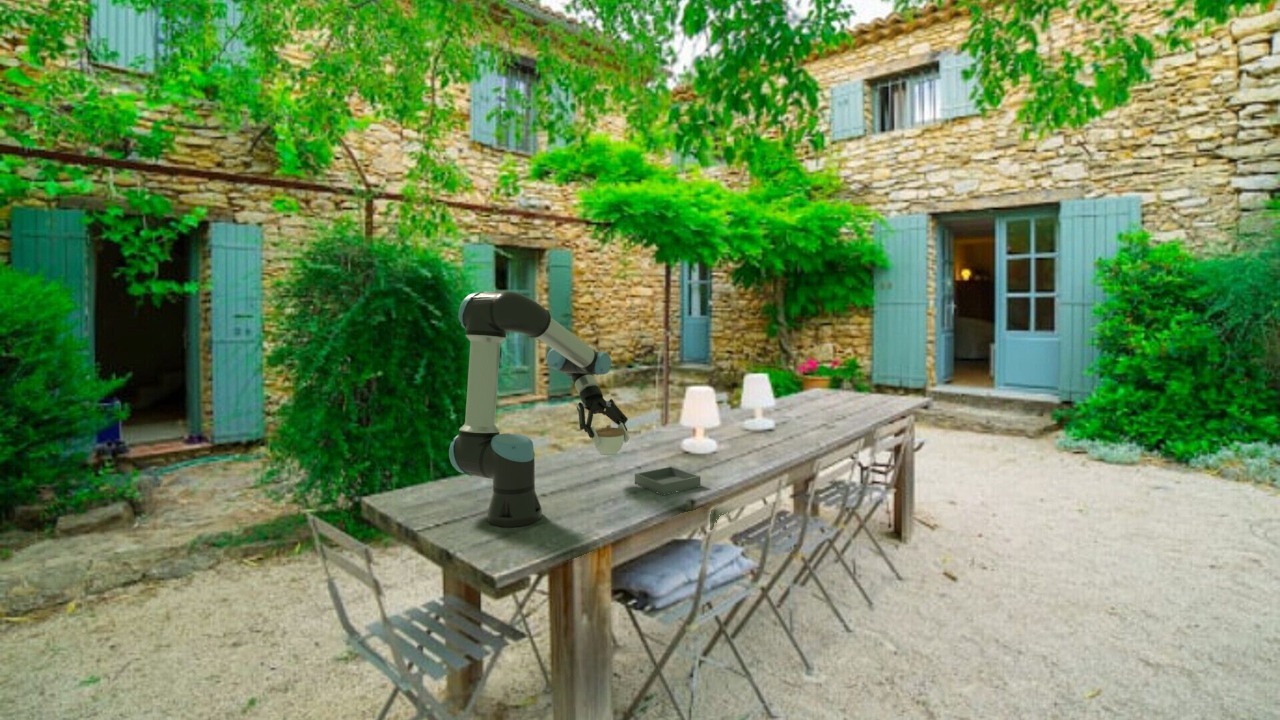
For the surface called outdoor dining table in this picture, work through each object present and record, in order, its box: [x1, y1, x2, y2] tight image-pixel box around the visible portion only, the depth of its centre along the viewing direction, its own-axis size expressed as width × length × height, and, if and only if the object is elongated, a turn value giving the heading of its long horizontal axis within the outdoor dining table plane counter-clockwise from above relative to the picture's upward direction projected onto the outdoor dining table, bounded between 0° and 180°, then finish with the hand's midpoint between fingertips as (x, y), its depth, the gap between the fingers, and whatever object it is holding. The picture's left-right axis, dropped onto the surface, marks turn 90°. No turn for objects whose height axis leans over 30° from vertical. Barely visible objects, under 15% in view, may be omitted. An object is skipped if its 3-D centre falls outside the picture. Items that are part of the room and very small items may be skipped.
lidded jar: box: [592, 425, 625, 456], centre depth 210 cm, size 11×11×9 cm
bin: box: [634, 466, 701, 496], centre depth 208 cm, size 16×16×4 cm
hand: (613, 442), depth 207 cm, fingers closed on lidded jar, 11 cm apart
